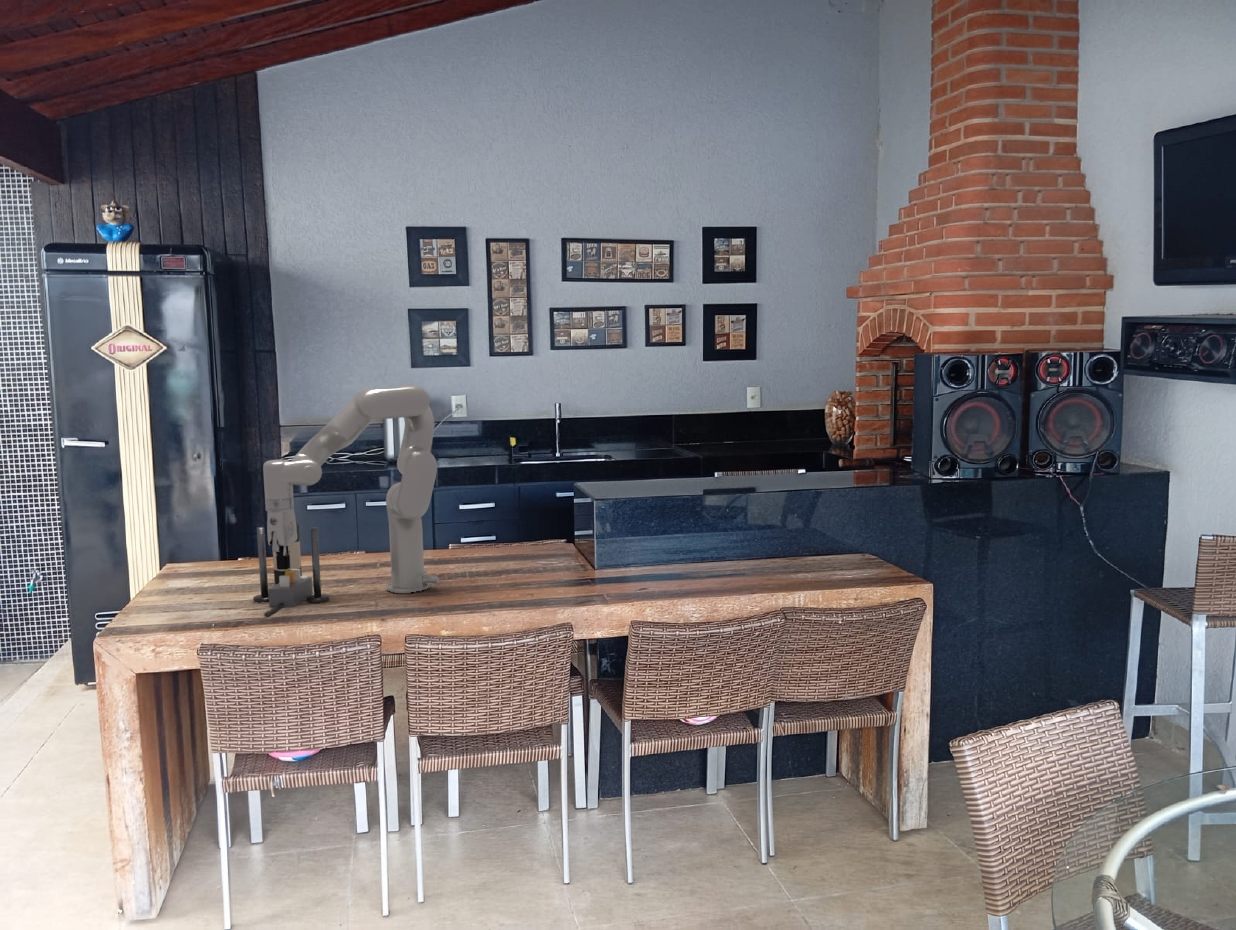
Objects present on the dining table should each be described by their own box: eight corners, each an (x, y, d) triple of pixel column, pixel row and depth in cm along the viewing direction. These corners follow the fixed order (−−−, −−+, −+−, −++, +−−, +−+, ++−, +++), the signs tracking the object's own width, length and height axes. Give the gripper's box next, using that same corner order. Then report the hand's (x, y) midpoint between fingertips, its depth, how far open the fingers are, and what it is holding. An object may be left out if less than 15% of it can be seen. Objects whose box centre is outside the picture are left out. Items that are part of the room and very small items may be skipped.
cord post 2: (332, 597, 309) (328, 525, 306) (324, 603, 303) (320, 530, 300) (311, 597, 310) (307, 525, 307) (302, 603, 303) (298, 530, 301)
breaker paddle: (295, 581, 307) (294, 571, 306) (293, 582, 306) (293, 572, 305) (287, 581, 307) (286, 571, 307) (285, 582, 306) (284, 572, 305)
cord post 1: (280, 597, 311) (276, 525, 308) (271, 603, 304) (266, 530, 301) (259, 597, 311) (254, 525, 308) (249, 602, 305) (244, 530, 302)
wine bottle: (294, 584, 325) (288, 486, 321) (268, 584, 326) (262, 486, 322) (307, 578, 333) (301, 482, 329) (282, 577, 335) (276, 481, 330)
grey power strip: (312, 593, 314) (311, 566, 313) (279, 616, 290) (277, 587, 289) (289, 593, 314) (288, 566, 313) (254, 616, 291) (252, 587, 290)
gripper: (281, 509, 291) (285, 575, 294) (303, 499, 306) (306, 562, 309) (255, 509, 292) (259, 575, 295) (277, 499, 307) (281, 562, 309)
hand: (283, 568), depth 302 cm, fingers closed
